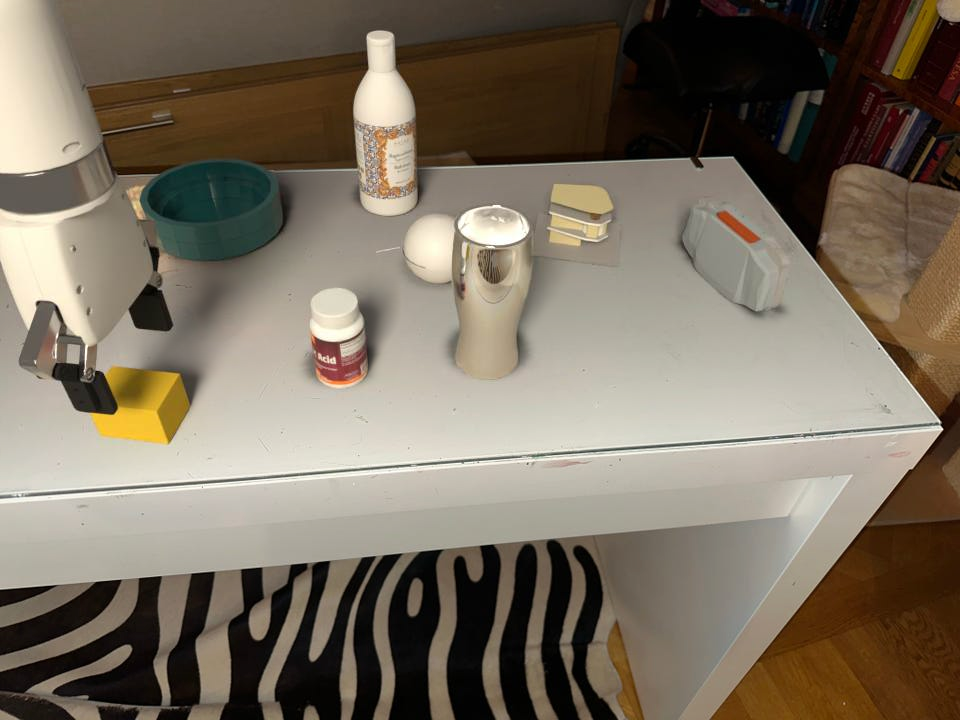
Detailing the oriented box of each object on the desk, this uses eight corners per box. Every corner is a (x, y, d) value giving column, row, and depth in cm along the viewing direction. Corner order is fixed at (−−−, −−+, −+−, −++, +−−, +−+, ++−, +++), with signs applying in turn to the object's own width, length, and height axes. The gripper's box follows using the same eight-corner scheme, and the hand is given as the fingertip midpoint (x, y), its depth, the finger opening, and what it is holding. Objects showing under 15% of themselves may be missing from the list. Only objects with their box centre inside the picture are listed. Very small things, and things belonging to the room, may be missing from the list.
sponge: (100, 436, 63) (84, 403, 60) (125, 398, 66) (111, 365, 64) (168, 444, 63) (156, 411, 60) (190, 406, 66) (179, 373, 63)
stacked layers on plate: (529, 255, 85) (533, 213, 81) (538, 213, 91) (542, 172, 87) (618, 267, 84) (626, 224, 80) (621, 224, 90) (629, 183, 86)
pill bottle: (306, 371, 70) (294, 300, 64) (347, 348, 72) (339, 277, 66) (337, 398, 67) (328, 326, 62) (379, 373, 70) (373, 302, 64)
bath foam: (379, 224, 88) (367, 52, 75) (350, 198, 92) (334, 30, 79) (428, 207, 91) (426, 39, 78) (398, 183, 95) (391, 19, 82)
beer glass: (537, 357, 72) (553, 224, 62) (489, 395, 68) (498, 259, 58) (483, 325, 75) (489, 193, 65) (434, 359, 71) (433, 224, 61)
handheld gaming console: (776, 320, 78) (801, 256, 72) (754, 327, 77) (777, 262, 71) (693, 246, 87) (710, 184, 82) (672, 251, 86) (687, 189, 81)
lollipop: (472, 257, 84) (474, 199, 79) (471, 298, 78) (473, 239, 73) (382, 255, 84) (378, 197, 79) (376, 296, 78) (371, 236, 73)
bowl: (128, 258, 82) (115, 219, 78) (183, 190, 92) (174, 153, 89) (259, 272, 81) (251, 232, 77) (299, 202, 91) (294, 164, 88)
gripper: (65, 111, 55) (133, 297, 67) (-97, 241, 42) (21, 443, 54) (163, 119, 54) (214, 304, 66) (29, 253, 42) (121, 454, 53)
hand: (128, 366), depth 60 cm, fingers open, 9 cm apart
